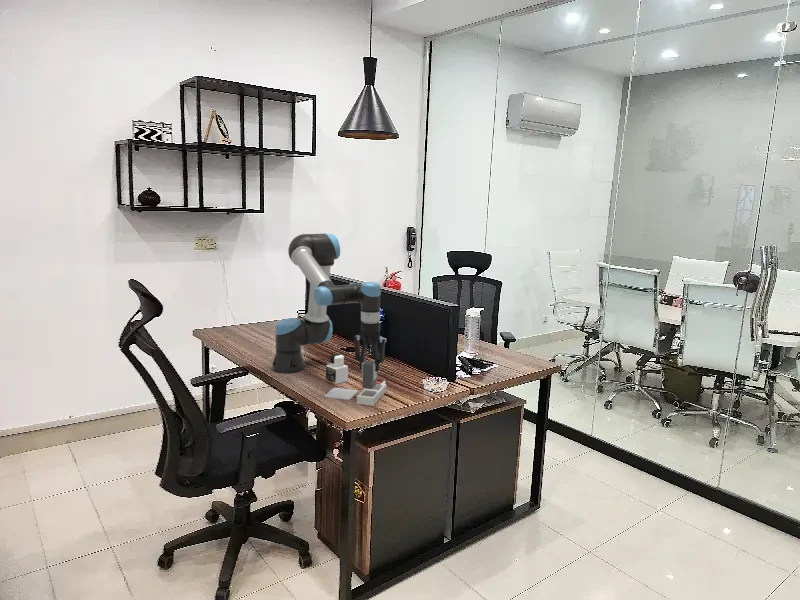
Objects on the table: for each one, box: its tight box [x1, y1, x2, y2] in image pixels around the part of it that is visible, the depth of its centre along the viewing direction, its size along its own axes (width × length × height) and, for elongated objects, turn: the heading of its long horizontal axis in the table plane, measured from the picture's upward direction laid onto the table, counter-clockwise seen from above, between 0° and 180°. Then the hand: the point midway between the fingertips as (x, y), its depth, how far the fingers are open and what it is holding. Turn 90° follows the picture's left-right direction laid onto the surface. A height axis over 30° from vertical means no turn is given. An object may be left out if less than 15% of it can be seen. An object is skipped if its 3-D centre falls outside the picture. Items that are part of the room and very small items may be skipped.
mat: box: [323, 387, 359, 401], centre depth 232 cm, size 11×11×1 cm
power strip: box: [356, 380, 388, 407], centre depth 234 cm, size 27×7×4 cm, turn 165°
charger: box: [361, 360, 377, 389], centre depth 224 cm, size 5×4×10 cm
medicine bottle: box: [325, 353, 349, 385], centre depth 247 cm, size 7×7×12 cm
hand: (369, 377), depth 224 cm, fingers closed on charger, 4 cm apart
